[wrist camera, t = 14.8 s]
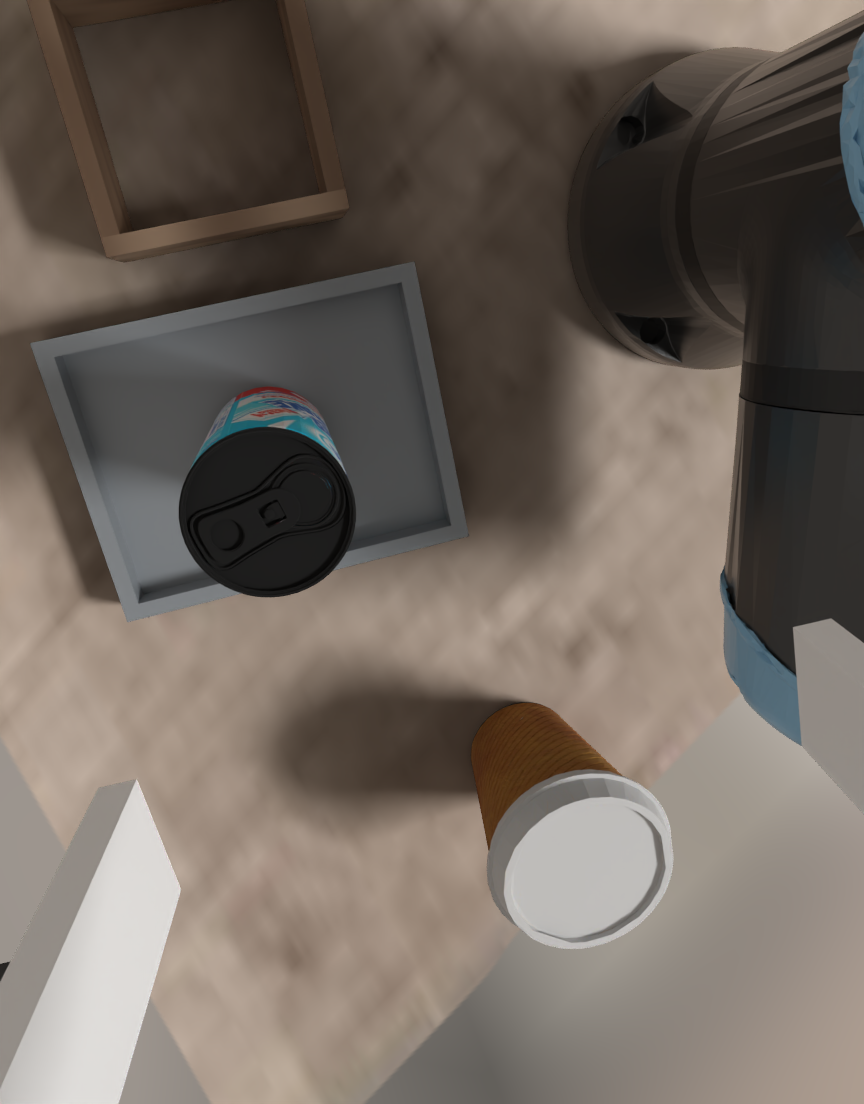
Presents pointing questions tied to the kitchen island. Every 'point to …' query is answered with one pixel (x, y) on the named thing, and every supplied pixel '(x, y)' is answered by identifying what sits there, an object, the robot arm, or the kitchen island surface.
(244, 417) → the beverage can
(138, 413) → the grey tray
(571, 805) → the disposable coffee cup
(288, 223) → the walnut holder
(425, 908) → the kitchen island surface
